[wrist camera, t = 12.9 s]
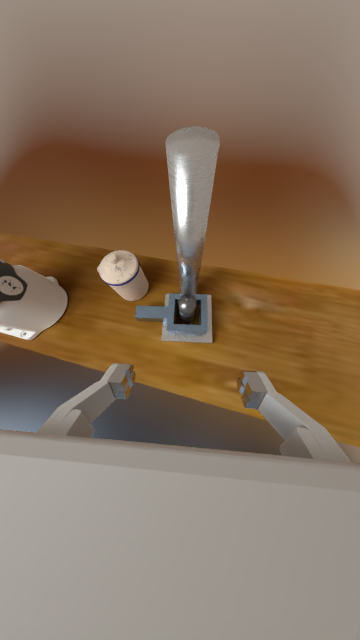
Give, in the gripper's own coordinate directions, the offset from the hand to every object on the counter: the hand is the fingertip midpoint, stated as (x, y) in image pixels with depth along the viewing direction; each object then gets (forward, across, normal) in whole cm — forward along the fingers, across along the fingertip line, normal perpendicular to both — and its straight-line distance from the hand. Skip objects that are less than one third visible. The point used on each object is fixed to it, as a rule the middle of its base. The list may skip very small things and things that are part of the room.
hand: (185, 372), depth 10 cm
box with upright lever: (+24, +3, +6) cm, 25 cm away
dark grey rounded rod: (+23, 0, +7) cm, 24 cm away
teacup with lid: (+29, +17, +1) cm, 34 cm away
